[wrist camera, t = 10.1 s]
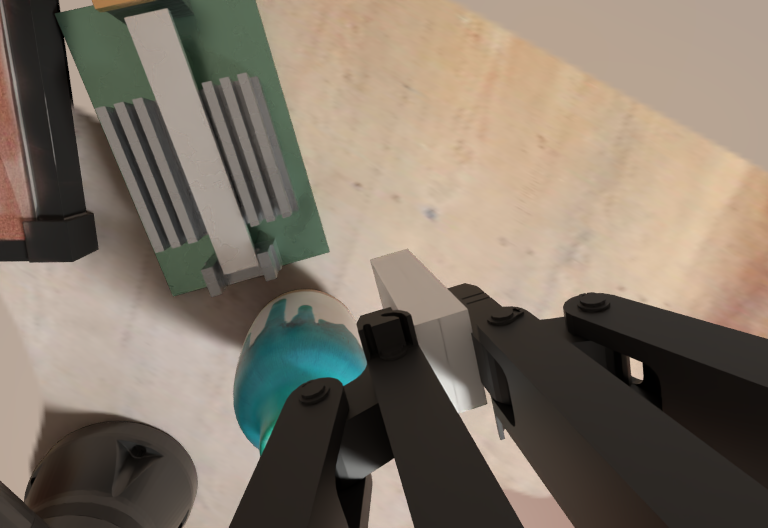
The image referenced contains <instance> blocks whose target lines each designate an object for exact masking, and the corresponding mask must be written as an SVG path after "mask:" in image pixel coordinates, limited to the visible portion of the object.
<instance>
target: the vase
mask: <svg viewBox="0 0 768 528" xmlns="http://www.w3.org/2000/svg"><path fill="white" fill-rule="evenodd" d="M356 324H357V322H356V320H355V319H354V317H353V315H352V314H351V313H350V311H349V310H348V308H347V307H346V306H345V305H344V304H343V303H342V302H340V301H339V300H338V299H336V298H335V297H333V296H331V295H329V294H327V293H325V292H322V291H318V290H312V289H300V290H293V291H290V292H287V293H284V294H282V295H280V296H278V297H276V298H275V299H273V300H272V301H270V302H269V303H268V304H267V305H266V306H265V307H264V308H263V309H262V310H261V312H260V313H259V314H258V315H257V317H256V319H255V320H254V322H253V324H252V326H251V327H250V329H249V331H248V334H247V336H246V338H245V341H244V344H243V347H242V350H241V353H240V357H239V360H238V364H237V369H236V374H235V381H234V390H233V395H234V410H235V414H236V419H237V421H238V423H239V426H240V428H241V430H242V431H243V433H244V434H245V436H246V437H247V439H248V440H249V441H250V442H251V443H252V444H253V445H254V446H255V447H256V448H258V449H259V450H260V457H261V455H262V452H263V450H264V448H265V446H266V444H267V441H268V439H269V437H270V435H271V432H272V430H273V428H274V426H275V424H276V421H277V419H278V417H279V415H280V412H281V410H282V408H283V406H284V404H285V401H286V399H287V398H288V396H289V395H290V394H291V392H293V391H294V390H295V389H296V388H298V387H299V386H300V385H302V384H303V383H307V381H310V380H315V379H318V378H326V377H331V378H336V379H338V380H339V381H340V382H342V384H343V386H344V385H346V384H348V383H350V382H351V381H353V380H354V379H356V378H357V377H358V376H359V375H361V374H362V372H363V371H364V370H365V368H366V365H367V361H366V358H365V354H364V351H363V347H362V344H361V340H360V337H359V334H358V329H357V325H356Z"/></svg>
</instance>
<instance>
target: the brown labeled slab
mask: <svg viewBox="0 0 768 528" xmlns="http://www.w3.org/2000/svg"><path fill="white" fill-rule="evenodd" d="M60 12H61V11H60V4H59V0H0V261H29V263H34V262H74V261H76V260H78V259H80V258H82V257H84V256H86V255H88V254H90V253H92V252H94V251H96V250H98V242H97V235H96V228H95V221H94V213H86V206H85V199H84V192H83V185H82V178H81V171H80V164H79V157H78V150H77V143H76V136H75V129H74V123H73V116H72V109H71V105H72V106H74V103H73V96H72V89H71V82H70V75H69V68H68V61H67V54H66V46H65V39H64V35H63V33H62V30H61V28H60V26H59V23H58V21H57V18H56V16H55V13H60Z"/></svg>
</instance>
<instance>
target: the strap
mask: <svg viewBox="0 0 768 528" xmlns="http://www.w3.org/2000/svg"><path fill="white" fill-rule="evenodd" d="M124 19H125V22H126V24H127V27H128V29H129V32H130V34H131V37H132V40H133V42H134V45H135V47H136V50H137V52H138V55H139V57H140V60H141V63H142V65H143V68H144V70H145V73H146V75H147V78H148V81H149V83H150V86H151V88H152V91H153V93H154V96H155V99H156V101H157V104H158V106H159V109H160V111H161V114H162V116H163V119H164V122H165V124H166V127H167V129H168V132H169V134H170V137H171V140H172V142H173V145H174V147H175V150H176V152H177V155H178V157H179V160H180V163H181V165H182V168H183V170H184V173H185V175H186V178H187V181H188V183H189V186H190V188H191V191H192V193H193V196H194V198H195V201H196V204H197V206H198V209H199V211H200V214H201V216H202V219H203V222H204V224H205V227H206V229H207V232H208V234H209V237H210V239H211V242H212V245H213V247H214V250H215V252H216V255H217V257H218V260H219V263H220V265H221V268H222V270H223V273H224V275H226V274H230V273H233V272H237V271H240V270H244V269H248V268H251V267H255V266H258V265H259V264H260V262H259V259H258V257H257V253H256V250H255V247H254V244H253V241H252V239H251V236H250V233H249V230H248V227H247V225H246V222H245V219H244V216H243V213H242V211H241V208H240V205H239V202H238V199H237V197H236V194H235V191H234V188H233V185H232V183H231V180H230V177H229V174H228V171H227V169H226V166H225V163H224V160H223V157H222V155H221V152H220V149H219V146H218V143H217V140H216V138H215V135H214V132H213V129H212V126H211V124H210V121H209V118H208V115H207V112H206V110H205V107H204V104H203V101H202V98H201V96H200V93H199V90H198V87H197V84H196V82H195V79H194V76H193V73H192V70H191V68H190V65H189V62H188V59H187V56H186V54H185V51H184V48H183V45H182V42H181V39H180V37H179V34H178V31H177V28H176V25H175V23H174V20H173V17H172V14H171V11H170V10H169V9H168V8H166V9H161V10H157V11H152V12H148V13H143V14H139V15H134V16H130V17H125V18H124Z"/></svg>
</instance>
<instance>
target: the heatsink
mask: <svg viewBox="0 0 768 528" xmlns="http://www.w3.org/2000/svg"><path fill="white" fill-rule="evenodd" d="M92 2H93V6H88V7H83V8H79V9H74V10H69V11H65V12H60V13H55V16H56V18H57V21H58V23H59V26H60V28H61V30H62V33H63V35H64V37H65V40H66V42H67V45H68V47H69V49H70V51H71V54H72V56H73V59H74V61H75V64H76V66H77V68H78V71H79V73H80V76H81V78H82V80H83V83H84V85H85V88H86V90H87V92H88V94H89V97H90V99H91V102H92V104H93V107H94V109H95V111H96V114H97V116H98V119H99V121H100V123H101V126H102V128H103V131H104V133H105V135H106V138H107V140H108V142H109V145H110V147H111V150H112V152H113V154H114V157H115V159H116V162H117V164H118V166H119V169H120V171H121V173H122V176H123V178H124V181H125V183H126V185H127V188H128V190H129V193H130V195H131V197H132V200H133V202H134V204H135V207H136V209H137V212H138V214H139V216H140V219H141V221H142V224H143V226H144V228H145V231H146V233H147V235H148V238H149V240H150V243H151V245H152V247H153V250H154V252H155V255H156V257H157V259H158V262H159V264H160V267H161V269H162V271H163V274H164V276H165V278H166V281H167V283H168V286H169V288H170V290H171V293H172V295H173V296H177V295H180V294H184V293H187V292H191V291H194V290H198V289H201V288H205V287H207V288H208V290H209V293H210V295H211V297H214V296H217V295H221V294H222V293H223V292H224V290H225V288H226V286H227V285H230V284H234V283H237V282H241V281H244V280H248V279H251V278H255V277H258V276H262V275H264V277H265V280H266V281H270V280H273V279H277V275H278V271H279V270H281V269H282V265H286V264H289V263H293V262H296V261H300V260H303V259H307V258H310V257H314V256H317V255H321V254H324V253H328V252H330V251H329V247H328V244H327V241H326V237H325V234H324V230H323V227H322V224H321V220H320V217H319V213H318V210H317V207H316V203H315V200H314V197H313V193H312V190H311V186H310V183H309V180H308V176H307V173H306V169H305V166H304V163H303V159H302V156H301V152H300V149H299V146H298V142H297V139H296V136H295V132H294V129H293V125H292V122H291V119H290V115H289V112H288V108H287V105H286V102H285V98H284V95H283V91H282V88H281V85H280V81H279V78H278V75H277V71H276V68H275V64H274V61H273V58H272V54H271V51H270V47H269V44H268V41H267V37H266V34H265V30H264V27H263V24H262V20H261V17H260V14H259V10H258V7H257V3H256V0H92ZM166 8H168V9H169V10H170V11H171V14H172V17H173V20H174V23H175V25H176V28H177V31H178V34H179V37H180V39H181V42H182V45H183V48H184V51H185V54H186V56H187V59H188V62H189V65H190V68H191V70H192V73H193V76H194V79H195V82H196V84H197V87H198V90H199V93H200V96H201V98H202V101H203V104H204V107H205V110H206V112H207V115H208V118H209V121H210V124H211V126H212V129H213V132H214V135H215V138H216V140H217V143H218V146H219V149H220V152H221V155H222V157H223V160H224V163H225V166H226V169H227V171H228V174H229V177H230V180H231V183H232V185H233V188H234V191H235V194H236V197H237V199H238V202H239V205H240V208H241V211H242V213H243V216H244V219H245V222H246V225H247V227H248V230H249V233H250V236H251V239H252V241H253V244H254V247H255V250H256V253H257V257H258V259H259V262H260V264H259V265H258V266H255V267H251V268H248V269H244V270H240V271H237V272H233V273H230V274H226V275H224V273H223V270H222V268H221V265H220V263H219V260H218V257H217V255H216V252H215V250H214V247H213V245H212V242H211V239H210V237H209V234H208V232H207V229H206V227H205V224H204V222H203V219H202V216H201V214H200V211H199V209H198V206H197V204H196V201H195V198H194V196H193V193H192V191H191V188H190V186H189V183H188V181H187V178H186V175H185V173H184V170H183V168H182V165H181V163H180V160H179V157H178V155H177V152H176V150H175V147H174V145H173V142H172V140H171V137H170V134H169V132H168V129H167V127H166V124H165V122H164V119H163V116H162V114H161V111H160V109H159V106H158V104H157V101H156V99H155V96H154V93H153V91H152V88H151V86H150V83H149V81H148V78H147V75H146V73H145V70H144V68H143V65H142V63H141V60H140V57H139V55H138V52H137V50H136V47H135V45H134V42H133V40H132V37H131V34H130V32H129V29H128V27H127V24H126V22H125V19H124V18H125V17H130V16H134V15H139V14H143V13H148V12H152V11H157V10H161V9H166Z"/></svg>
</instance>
